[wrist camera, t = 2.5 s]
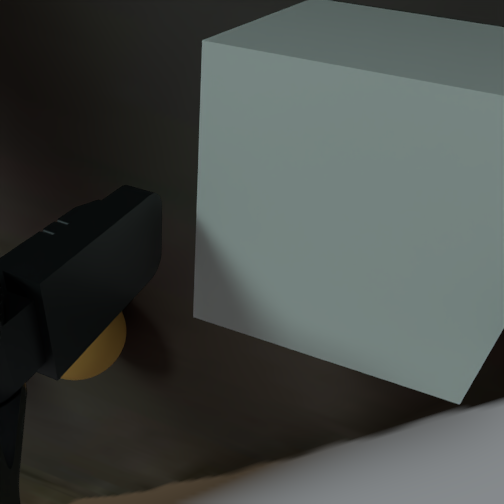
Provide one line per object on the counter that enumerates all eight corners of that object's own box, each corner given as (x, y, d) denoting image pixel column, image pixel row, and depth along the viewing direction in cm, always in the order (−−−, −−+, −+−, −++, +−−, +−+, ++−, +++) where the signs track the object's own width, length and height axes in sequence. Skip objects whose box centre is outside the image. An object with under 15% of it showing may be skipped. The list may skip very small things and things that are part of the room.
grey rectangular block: (313, -2, 15) (201, 40, 8) (534, 31, 14) (624, 118, 7) (285, 183, 19) (193, 316, 12) (454, 224, 18) (459, 404, 11)
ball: (64, 260, 26) (-3, 314, 22) (141, 284, 25) (85, 346, 21) (74, 322, 29) (17, 381, 25) (144, 347, 28) (95, 412, 24)
